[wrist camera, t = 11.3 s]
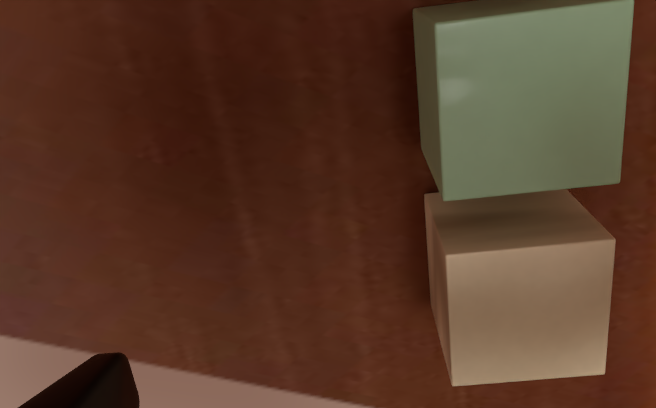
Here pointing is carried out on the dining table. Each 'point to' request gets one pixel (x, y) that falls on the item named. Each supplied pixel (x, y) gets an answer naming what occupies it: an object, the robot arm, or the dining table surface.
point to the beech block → (519, 286)
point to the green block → (522, 94)
